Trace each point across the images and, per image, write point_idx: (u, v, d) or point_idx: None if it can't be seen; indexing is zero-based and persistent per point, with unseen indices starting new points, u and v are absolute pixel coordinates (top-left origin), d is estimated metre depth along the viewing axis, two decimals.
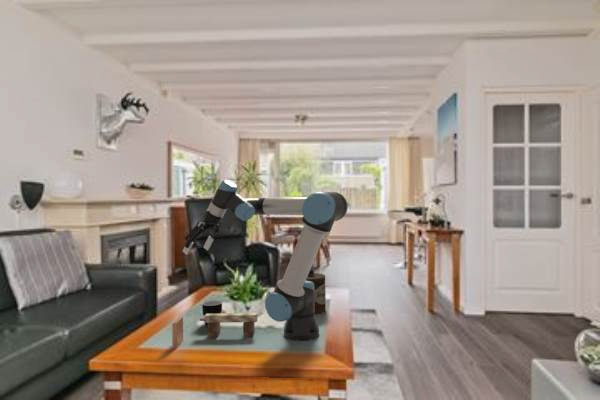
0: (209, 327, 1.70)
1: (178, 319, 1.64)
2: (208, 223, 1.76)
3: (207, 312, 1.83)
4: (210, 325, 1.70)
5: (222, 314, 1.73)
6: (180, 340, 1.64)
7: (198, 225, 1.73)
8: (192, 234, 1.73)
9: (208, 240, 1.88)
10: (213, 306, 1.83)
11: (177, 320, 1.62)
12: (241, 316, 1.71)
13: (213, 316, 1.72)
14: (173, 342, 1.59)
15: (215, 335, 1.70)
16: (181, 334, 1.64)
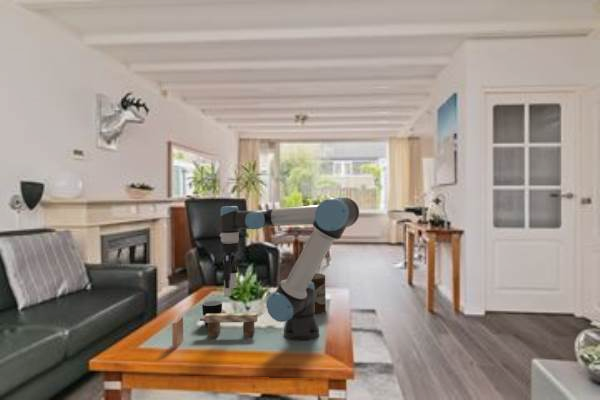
0: (209, 327, 1.70)
1: (178, 319, 1.64)
2: (231, 254, 1.70)
3: (207, 312, 1.83)
4: (210, 325, 1.70)
5: (222, 314, 1.73)
6: (180, 340, 1.64)
7: (226, 259, 1.66)
8: (227, 270, 1.64)
9: (232, 278, 1.79)
10: (213, 306, 1.83)
11: (177, 320, 1.62)
12: (241, 316, 1.71)
13: (213, 316, 1.72)
14: (173, 342, 1.59)
15: (215, 335, 1.70)
16: (181, 334, 1.64)
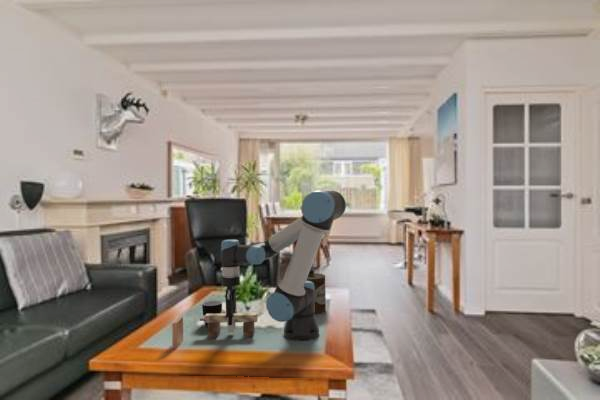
0: (209, 327, 1.70)
1: (178, 319, 1.64)
2: (232, 288, 1.70)
3: (207, 312, 1.83)
4: (210, 325, 1.70)
5: (222, 314, 1.73)
6: (180, 340, 1.64)
7: (228, 298, 1.67)
8: (230, 309, 1.67)
9: None
10: (213, 306, 1.83)
11: (177, 320, 1.62)
12: (241, 316, 1.71)
13: (213, 316, 1.72)
14: (173, 342, 1.59)
15: (215, 335, 1.70)
16: (181, 334, 1.64)
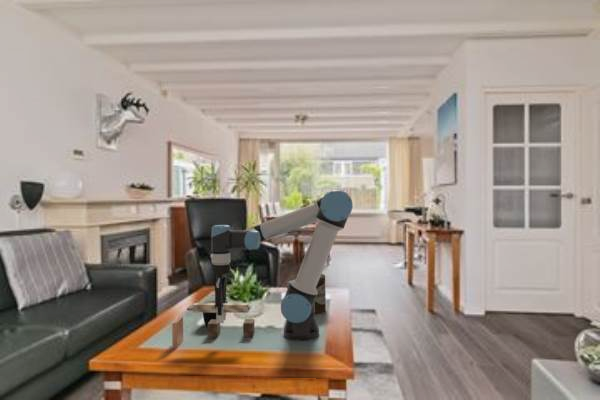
0: (209, 327, 1.70)
1: (178, 319, 1.64)
2: (222, 276, 1.60)
3: None
4: (210, 325, 1.70)
5: (211, 304, 1.63)
6: (180, 340, 1.64)
7: (217, 287, 1.57)
8: (219, 298, 1.57)
9: None
10: None
11: (177, 320, 1.62)
12: (231, 306, 1.61)
13: (201, 306, 1.61)
14: (173, 342, 1.59)
15: (215, 335, 1.70)
16: (181, 334, 1.64)
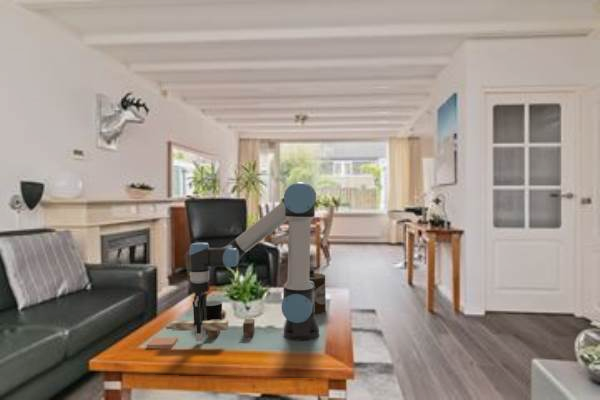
0: None
1: None
2: (200, 294, 1.60)
3: (207, 312, 1.83)
4: None
5: (190, 322, 1.63)
6: (171, 340, 1.64)
7: (195, 305, 1.57)
8: (198, 316, 1.58)
9: None
10: (213, 306, 1.83)
11: None
12: (210, 324, 1.62)
13: (181, 324, 1.62)
14: None
15: (215, 335, 1.70)
16: (167, 340, 1.64)
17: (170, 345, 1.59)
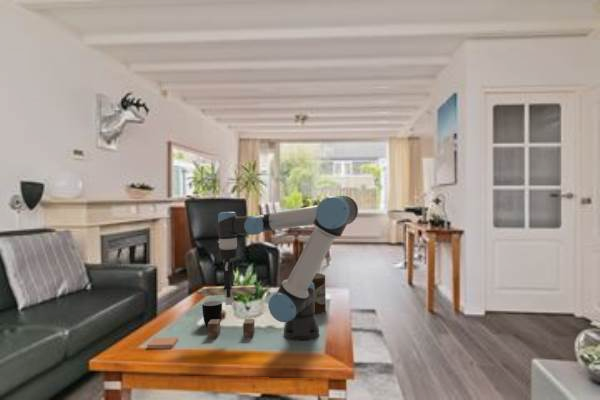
0: (209, 327, 1.70)
1: None
2: (229, 260, 1.68)
3: (207, 312, 1.83)
4: (210, 325, 1.70)
5: (219, 287, 1.71)
6: (171, 340, 1.64)
7: (226, 270, 1.65)
8: (228, 280, 1.66)
9: None
10: (213, 306, 1.83)
11: None
12: (239, 289, 1.70)
13: (210, 289, 1.70)
14: None
15: (215, 335, 1.70)
16: (167, 339, 1.64)
17: (171, 345, 1.59)
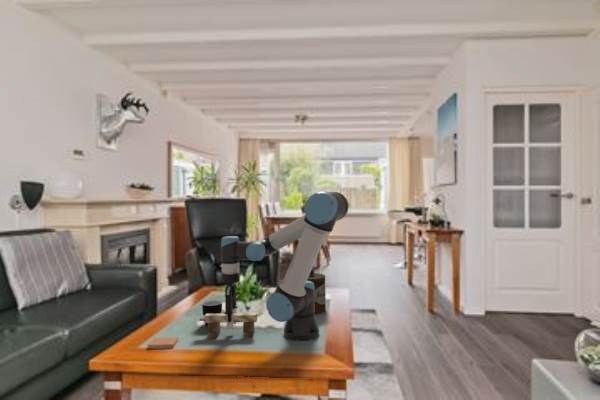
0: (209, 327, 1.70)
1: None
2: (232, 285, 1.70)
3: (207, 312, 1.83)
4: (210, 325, 1.70)
5: (222, 314, 1.73)
6: (172, 340, 1.64)
7: (227, 294, 1.66)
8: (229, 305, 1.66)
9: None
10: (213, 306, 1.83)
11: None
12: (241, 316, 1.71)
13: (213, 316, 1.72)
14: None
15: (215, 335, 1.70)
16: (167, 339, 1.65)
17: (171, 345, 1.60)
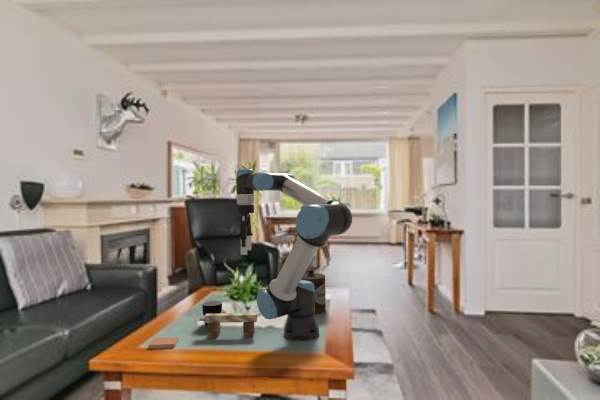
0: (209, 327, 1.70)
1: None
2: (247, 215, 1.76)
3: (207, 312, 1.83)
4: (210, 325, 1.70)
5: (222, 314, 1.73)
6: (172, 340, 1.64)
7: (243, 219, 1.71)
8: (244, 229, 1.70)
9: (246, 240, 1.85)
10: (213, 306, 1.83)
11: None
12: (241, 316, 1.71)
13: (213, 316, 1.72)
14: (168, 347, 1.60)
15: (215, 335, 1.70)
16: (168, 339, 1.65)
17: (172, 344, 1.60)
